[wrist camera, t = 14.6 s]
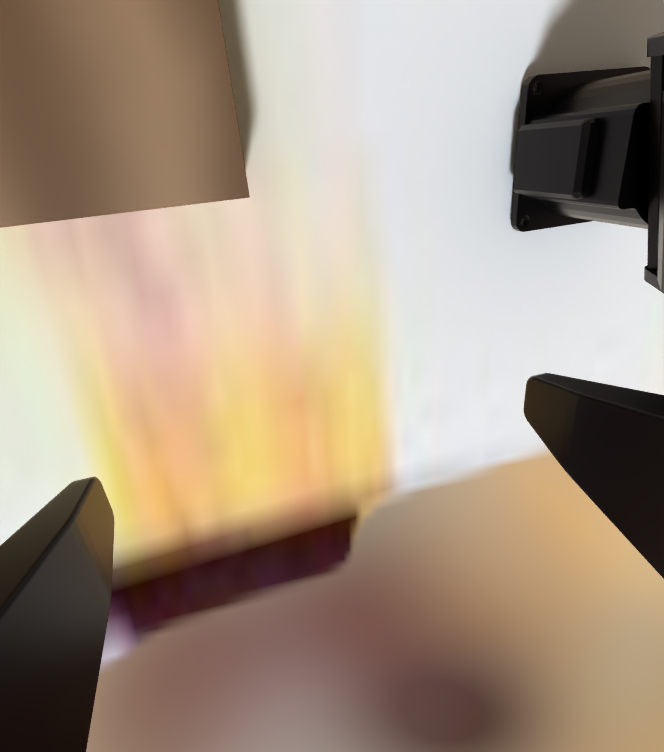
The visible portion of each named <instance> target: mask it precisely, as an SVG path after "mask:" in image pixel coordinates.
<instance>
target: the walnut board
mask: <svg viewBox="0 0 664 752" xmlns="http://www.w3.org/2000/svg"><path fill="white" fill-rule="evenodd" d="M248 197H249V190H248V184H247V178H246V172H245V166H244V160H243V153H242V147H241V141H240V135H239V129H238V122H237V116H236V110H235V104H234V98H233V91H232V85H231V79H230V73H229V67H228V60H227V54H226V48H225V42H224V36H223V29H222V23H221V17H220V11H219V5H218V0H0V228H1V227H9V226H17V225H25V224H34V223H42V222H50V221H58V220H67V219H75V218H83V217H91V216H100V215H108V214H116V213H124V212H133V211H141V210H149V209H157V208H166V207H174V206H182V205H190V204H199V203H207V202H215V201H223V200H232V199H240V198H248Z"/></svg>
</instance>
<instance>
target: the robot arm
mask: <svg viewBox="0 0 664 752" xmlns="http://www.w3.org/2000/svg"><path fill="white" fill-rule="evenodd" d="M647 57H651V70H650V68H649V67H633V68H620V69H607V70H594V71H582V72H569V73H556V74H543V75H536V76H532V77H529V78H528V79H527V80H526V81H525V83H524V85H523V88H522V95H521V107H520V119H519V131H518V133H517V145H516V157H515V169H514V182H513V189H514V192H513V205H512V217H511V225H512V227H513V229H515V230H517V231H523V232H525V231H531V230H538V229H544V228H551V227H557V226H564V225H570V224H576V223H583V222H589V221H599V222H606V223H612V224H619V225H625V226H632V227H638V228H645V229H648V265H647V266H646V267H645V271H644V280H645V281H646V282H648V283H649V284H651V285H652V286H654V287H655V288H657V289H658V290H659V291H661V292H662V293H664V32H662V33H659V34H657V35H654V36H652V37H649V38H647ZM534 84H536V86H537V91H536V93H535V95H534V93H533V86H534ZM523 216H524V218H525V220H524V223H523V224H522V225H521V219H522V217H523ZM524 414H525V417H526V419H527V421H528V422H529V423H530V425H531V426H532V427H533V429H534V430H535V431H536V433H537V434H538V435H539V437H540V438H541V439H542V441H543V442H544V443H545V445H546V446H547V448H548V449H549V450H550V452H551V453H552V454H553V456H554V457H555V458H556V460H557V461H558V462H559V463H560V465H561V466H562V467H563V468H564V470H565V471H566V472H567V473H568V474H569V476H570V477H571V478H572V479H573V480H574V481H575V482H576V483H577V484H578V486H579V487H580V488H581V489H582V490H583V491H584V492H585V493H586V494H587V495H588V497H589V498H590V499H591V500H592V501H593V502H594V503H595V504H596V505H597V506H598V507H599V508H600V510H601V511H602V512H603V513H604V514H605V515H606V516H607V517H608V518H609V519H610V521H611V522H612V523H613V524H614V525H615V526H616V527H617V528H618V529H619V530H620V531H621V532H622V534H623V535H624V536H625V537H626V538H627V539H628V540H629V541H630V542H631V543H632V545H633V546H634V547H635V548H636V549H637V550H638V551H639V552H640V553H641V554H642V556H643V557H644V558H645V559H646V560H647V561H648V562H649V563H650V564H651V565H652V566H653V568H655V570H656V571H657V572H658V573H659V574H660V575H661V576H662V577H663V578H664V395H659V394H654V393H649V392H644V391H639V390H633V389H628V388H623V387H618V386H613V385H607V384H602V383H597V382H592V381H587V380H581V379H576V378H571V377H566V376H561V375H555V374H550V373H544V374H539V375H535V376H532V377H530V378H529V379H528V381H527V384H526V392H525V401H524ZM113 542H114V515H113V511H112V508H111V506H110V503H109V501H108V499H107V496H106V494H105V491H104V489H103V486H102V484H101V482H100V480H99V479H98V478H96V477H90V478H86V479H81V480H77V481H74V482H72V483H70V484H69V485H68V486H67V487H66V488H65V489H64V490H62V491H61V492H60V493H59V494H58V495H57V496H56V497H55V498H53V499H52V500H51V501H50V502H49V503H48V504H47V505H46V506H44V507H43V508H42V509H41V510H40V511H39V512H38V513H37V514H35V515H34V516H33V517H32V518H31V519H30V520H29V521H28V522H26V523H25V524H24V525H23V526H22V527H21V528H20V529H19V530H17V531H16V532H15V533H14V534H13V535H12V536H11V537H10V538H8V539H7V540H6V541H5V542H4V543H3V544H2V545H1V546H0V752H86V748H87V742H88V735H89V730H90V724H91V718H92V712H93V706H94V700H95V693H96V688H97V682H98V676H99V670H100V664H101V658H102V652H103V646H104V640H105V634H106V628H107V622H108V616H109V609H110V602H111V590H112V567H113Z"/></svg>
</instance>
